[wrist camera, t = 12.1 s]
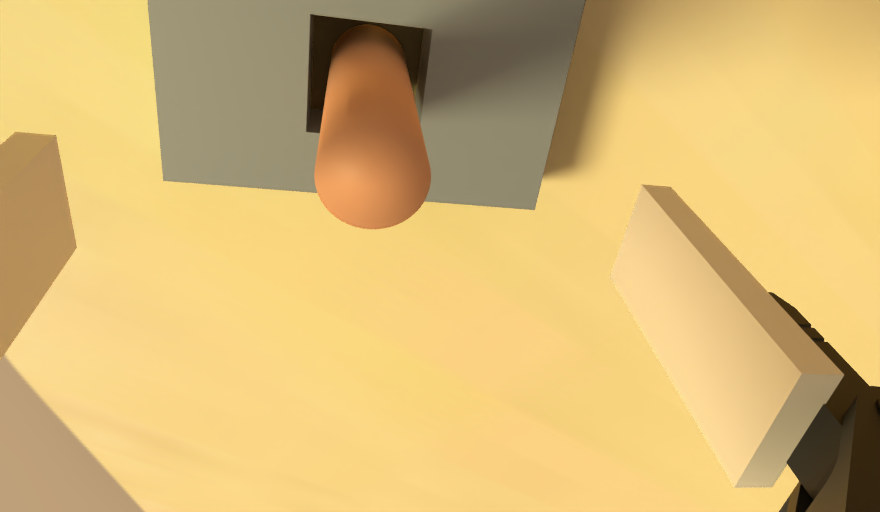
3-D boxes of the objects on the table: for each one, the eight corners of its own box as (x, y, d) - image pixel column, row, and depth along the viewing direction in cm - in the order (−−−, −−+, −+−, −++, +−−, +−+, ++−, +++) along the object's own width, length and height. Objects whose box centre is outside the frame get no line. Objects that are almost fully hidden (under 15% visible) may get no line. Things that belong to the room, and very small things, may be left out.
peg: (329, 95, 28) (312, 225, 18) (332, 20, 27) (316, 117, 16) (401, 102, 29) (423, 232, 19) (408, 29, 27) (438, 128, 17)
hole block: (180, 152, 29) (163, 180, 26) (162, -97, 24) (139, -92, 21) (520, 182, 32) (534, 209, 29) (569, -37, 26) (592, -27, 24)
